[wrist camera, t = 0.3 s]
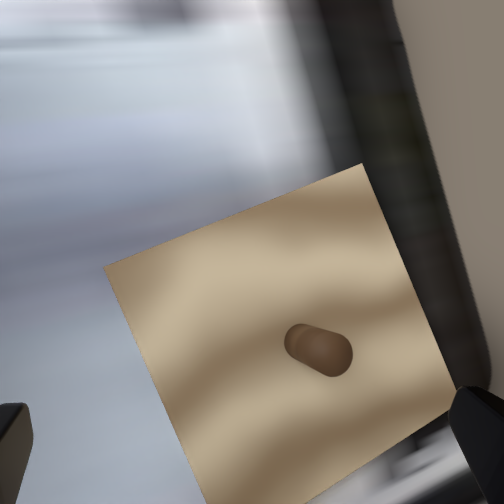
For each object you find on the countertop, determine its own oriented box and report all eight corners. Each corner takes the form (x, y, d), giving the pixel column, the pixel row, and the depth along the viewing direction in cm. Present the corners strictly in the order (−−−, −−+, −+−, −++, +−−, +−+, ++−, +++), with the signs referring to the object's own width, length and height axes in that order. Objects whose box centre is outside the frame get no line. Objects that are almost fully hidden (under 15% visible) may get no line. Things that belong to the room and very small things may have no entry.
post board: (443, 394, 25) (520, 425, 20) (223, 534, 21) (246, 621, 16) (349, 170, 25) (403, 139, 19) (106, 268, 20) (89, 263, 15)
